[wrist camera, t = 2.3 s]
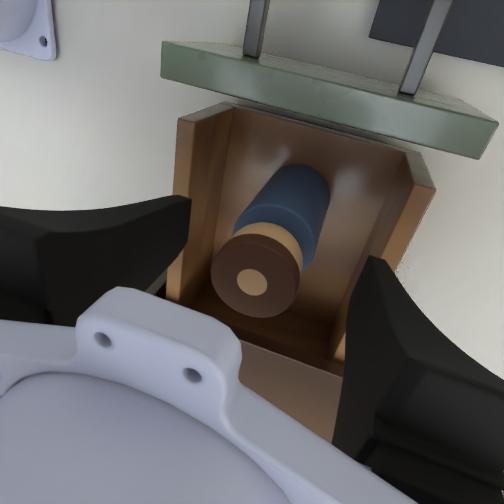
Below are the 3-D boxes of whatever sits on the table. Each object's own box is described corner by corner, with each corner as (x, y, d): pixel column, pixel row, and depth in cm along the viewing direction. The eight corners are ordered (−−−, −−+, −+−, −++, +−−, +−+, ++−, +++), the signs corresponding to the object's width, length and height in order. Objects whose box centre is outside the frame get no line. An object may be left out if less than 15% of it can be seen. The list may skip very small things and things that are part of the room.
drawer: (235, -82, 15) (167, -146, 10) (524, -31, 13) (612, -78, 8) (193, 275, 25) (150, 330, 20) (350, 331, 23) (344, 404, 18)
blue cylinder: (274, 155, 18) (209, 224, 11) (339, 174, 17) (315, 258, 10) (261, 214, 20) (198, 305, 13) (319, 232, 19) (287, 337, 12)
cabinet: (194, 234, 24) (131, 299, 18) (375, 294, 22) (375, 390, 16) (178, 376, 33) (131, 454, 26) (309, 428, 31) (292, 526, 24)
